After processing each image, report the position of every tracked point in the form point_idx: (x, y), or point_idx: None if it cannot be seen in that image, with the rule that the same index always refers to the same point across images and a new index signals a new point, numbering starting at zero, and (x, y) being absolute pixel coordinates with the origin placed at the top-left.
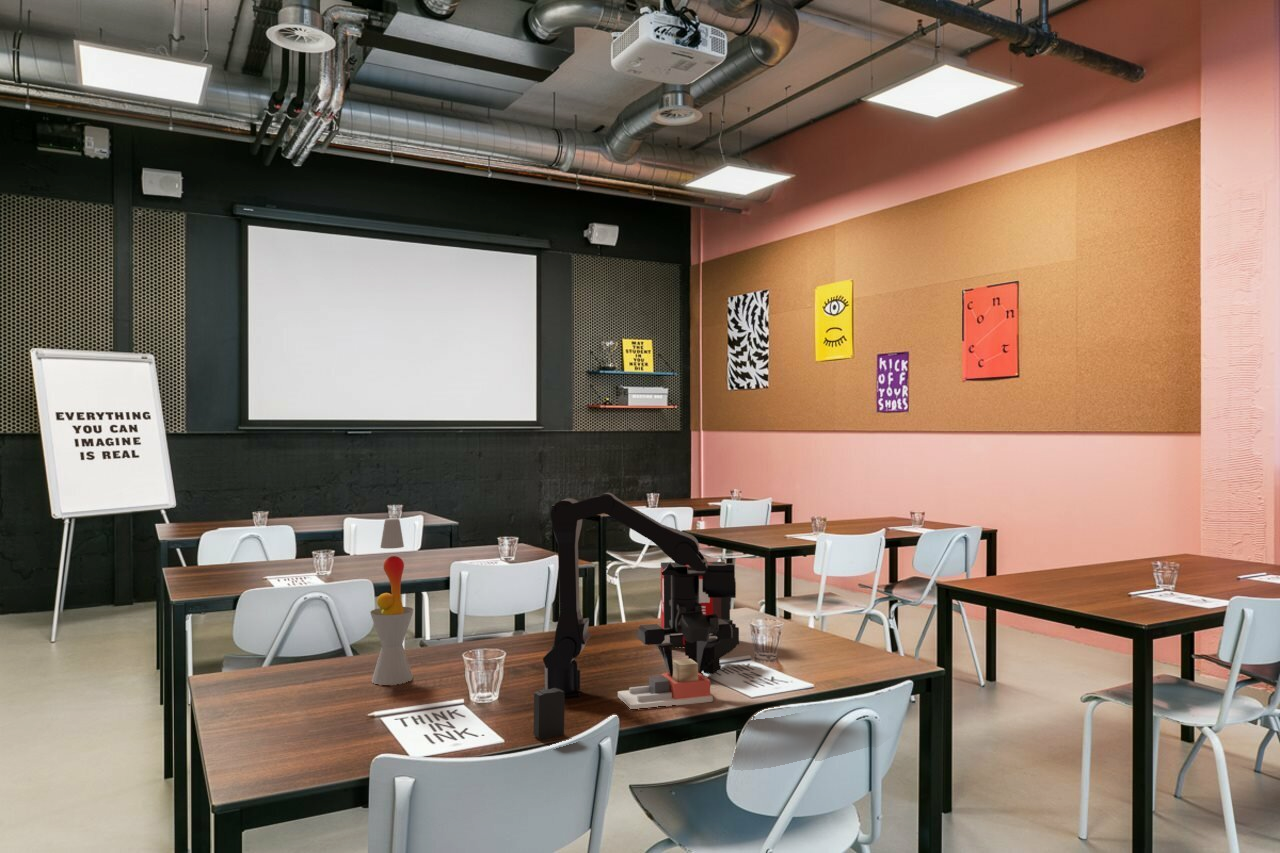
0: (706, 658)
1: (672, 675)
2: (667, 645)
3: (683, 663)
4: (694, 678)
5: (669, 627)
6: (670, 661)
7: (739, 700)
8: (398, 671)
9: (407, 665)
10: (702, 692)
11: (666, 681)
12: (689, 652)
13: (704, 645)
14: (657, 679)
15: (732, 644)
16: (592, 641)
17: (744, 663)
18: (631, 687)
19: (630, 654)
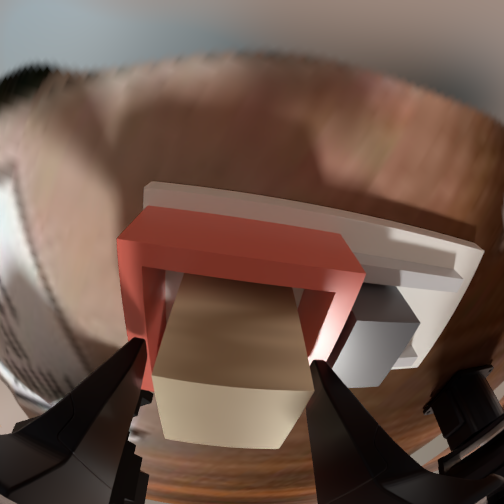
0: (73, 390)
1: (316, 360)
2: (479, 500)
3: (257, 408)
4: (197, 306)
5: (136, 500)
6: (360, 424)
7: (51, 154)
8: (501, 428)
9: (491, 438)
10: (184, 217)
11: (371, 320)
12: (128, 461)
13: (54, 480)
14: (382, 353)
15: (21, 427)
16: (239, 499)
17: (22, 388)
18: (406, 364)
19: (213, 481)
